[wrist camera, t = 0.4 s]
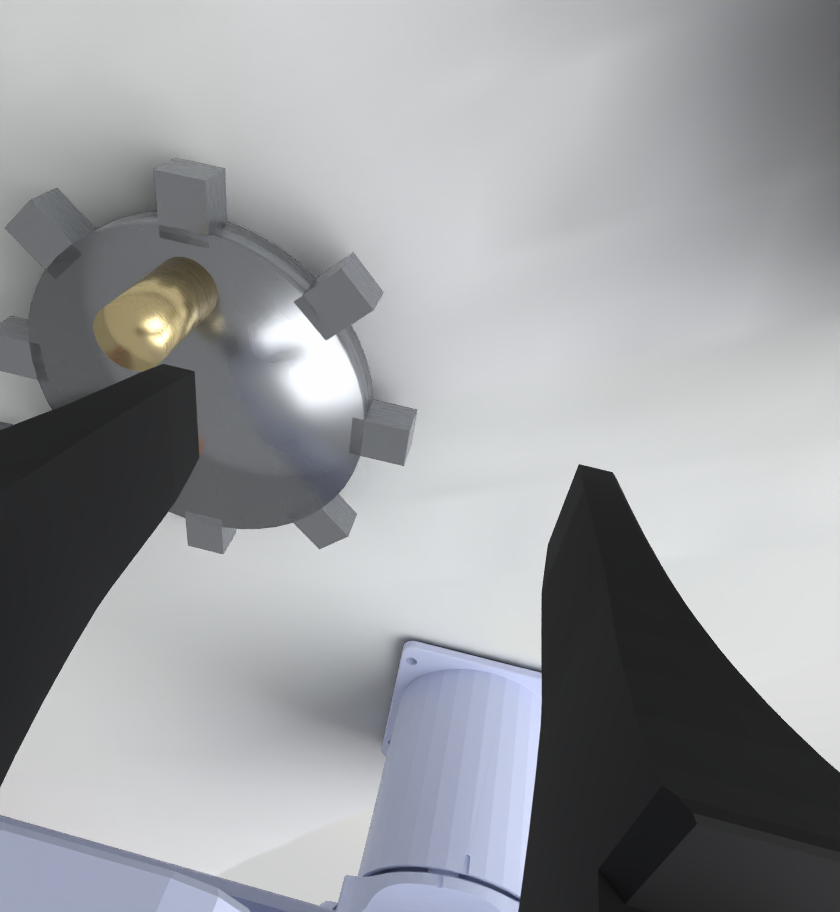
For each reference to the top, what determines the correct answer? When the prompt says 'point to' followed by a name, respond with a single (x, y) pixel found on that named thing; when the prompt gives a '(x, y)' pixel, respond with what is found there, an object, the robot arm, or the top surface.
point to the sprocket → (213, 350)
